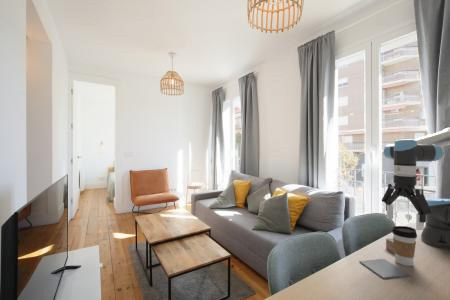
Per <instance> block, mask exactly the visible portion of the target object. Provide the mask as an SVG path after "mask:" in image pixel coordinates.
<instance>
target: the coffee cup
mask: <svg viewBox="0 0 450 300" xmlns="http://www.w3.org/2000/svg"><path fill="white" fill-rule="evenodd" d="M391 233H392V234H393V236H392V238H393V241H394V250H395V253H394V259H395V262H396V263H398V264H400V265H402V266H407V267H413V266H414V257H415V253H416V244H417V237H418V234H417V230H416V228H415V227H414V228H413V227H412V226H411V227H410V226H403V225H396V226H393V227H392V230H391Z"/></svg>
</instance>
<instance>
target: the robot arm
mask: <svg viewBox="0 0 450 300" xmlns="http://www.w3.org/2000/svg"><path fill="white" fill-rule="evenodd" d="M447 146H450V126H449V127H446V128H443V129H442V130H441V131H438V132H435V133H433V134H428V135H425V136H422V137H418V138H415V139H396V140H395V141H394V142H393V143H392V144H387V145H386V146H384V149H383V155H384V157H385V158H387V159H388V160H389V159H390V160H393V183H388V184H387V189H386V190H385V193H384V194H383V196H382V199H381V202H382V203H385V211H386V219H387V220H392V219H393V220H394V202H395V201H396V200H397V199H398V198H399V197H403V198H407V199H408V200H409V202H411V205H413V208H414V209H415V210H416V212H417V213H416V216H415V219H416V220H415V221H416V222H415V230H416V231H422V232H421V234H420V239H421V241H422V242H423V243H425V244H426V245H430V246H433V247H436V248H440V249H444V250H450V198H427V199H426V197H425V194H424V189H423V188H416V187H415V186H416V184H417V162H430V163H431V162H437V161H439V160H440V159H442V158H443V156H444V150H443V148H444V147H447Z"/></svg>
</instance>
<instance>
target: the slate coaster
mask: <svg viewBox="0 0 450 300" xmlns="http://www.w3.org/2000/svg"><path fill="white" fill-rule="evenodd" d="M359 263H360V264H361V265H362V266H364V267H365V268H367V269H368V270H370V271H371V272H372V273H374V274H375V275H377V276H378V277H380V278H381V279H383V280H384V279H386V280H387V279H394V278H403V277H404V278H405V277H411V273H409V272H407V271H406V270H404V269H402V268H400V267H399V266H397V265H395V264H394V263H391V262H390V261H389V260H387V259H386V258H379V259H366V260H360V261H359Z"/></svg>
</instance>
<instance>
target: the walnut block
mask: <svg viewBox="0 0 450 300" xmlns="http://www.w3.org/2000/svg"><path fill="white" fill-rule="evenodd" d="M385 249H386V250H388V251H390V252H391V253H393V254H395V250H394V241H393V237H391V238H385Z"/></svg>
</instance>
